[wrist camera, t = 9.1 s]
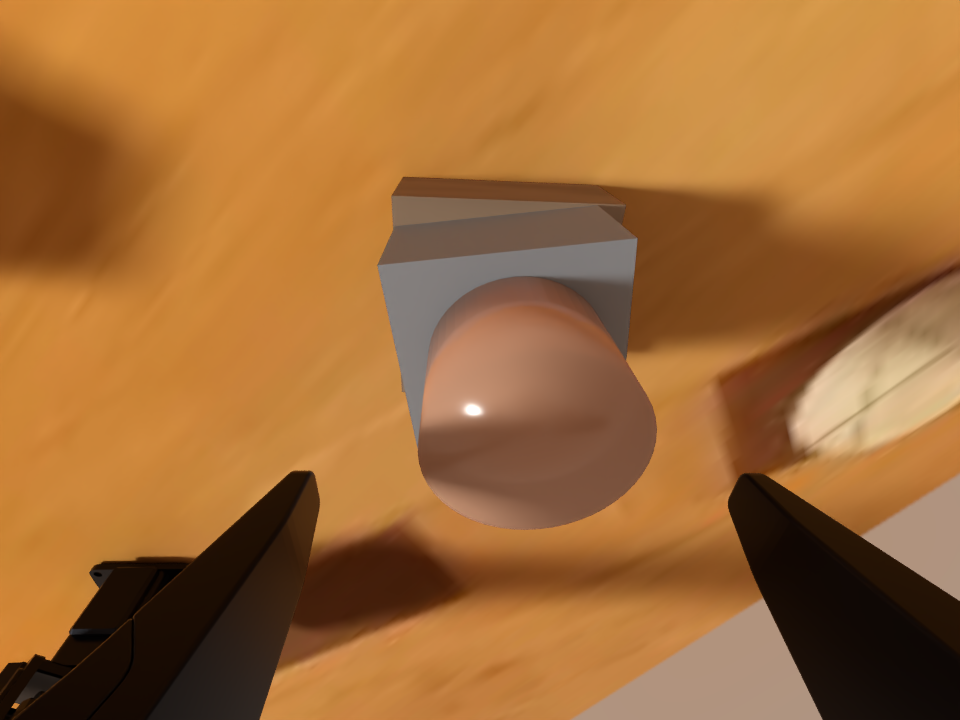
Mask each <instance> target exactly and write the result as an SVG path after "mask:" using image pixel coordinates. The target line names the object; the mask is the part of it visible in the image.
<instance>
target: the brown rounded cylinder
mask: <svg viewBox="0 0 960 720" xmlns="http://www.w3.org/2000/svg"><path fill="white" fill-rule="evenodd" d="M656 433H657V426H656V417H655V414H654V411H653V407H652V405H651V403H650V401H649V399H648V397H647V395H646V393H645V391H644V390H643V388H642V387H641V385H640V383H639V382H638V380H637V378H636V377H635V375H634V373H633V372H632V370H631V368H630V367H629V365H628V363H627V362H626V360H625V359H624V357H623V355H622V354H621V352H620V350H619V349H618V347H617V345H616V344H615V342H614V340H613V339H612V337H611V335H610V334H609V332H608V330H607V329H606V327H605V326H604V324H603V322H602V321H601V319H600V317H599V316H598V314H597V313H596V311H595V310H594V308H593V307H592V306H591V304H590V303H589V302H587V301H586V300H585V299H584V298H583V297H582V296H581V295H580V294H578V293H577V292H575V291H574V290H572V289H571V288H569V287H567V286H565V285H563V284H560V283H558V282H555V281H552V280H548V279H543V278H539V277H527V276H524V277H510V278H503V279H499V280H495V281H492V282H488V283H486V284H484V285H481V286H479V287H477V288H475V289H473V290H471V291H470V292H468V293H466V294H465V295H463V296H462V297H461V298H459V299H458V300H457V301H456V302H455V303H454V304H453V305H452V306H451V307H450V308H449V309H448V310H447V311H446V312H445V313H444V315H443V316H442V317H441V319H440V320H439V322H438V324H437V326H436V327H435V329H434V332H433V334H432V337H431V340H430V345H429V350H428V358H427V367H426V376H425V385H424V394H423V403H422V412H421V421H420V430H419V439H418V458H419V464H420V468H421V471H422V474H423V476H424V478H425V480H426V482H427V484H428V485H429V487H430V488H431V490H432V491H433V492H434V494H435V495H436V496H437V497H438V498H439V499H440V500H441V501H442V502H443V503H445V504H446V505H447V506H449V507H450V508H451V509H452V510H454V511H456V512H457V513H459V514H461V515H463V516H465V517H467V518H469V519H471V520H474V521H477V522H480V523H483V524H486V525H490V526H494V527H499V528H507V529H521V530H529V529H543V528H550V527H556V526H560V525H565V524H568V523H572V522H575V521H578V520H581V519H583V518H586V517H588V516H591V515H593V514H595V513H597V512H599V511H600V510H602V509H604V508H606V507H607V506H609V505H610V504H612V503H613V502H615V501H616V500H618V499H619V498H620V497H621V496H622V495H624V494H625V493H626V492H627V491H628V490H629V489H630V488H631V487H632V486H633V485H634V484H635V483H636V481H637V480H638V479H639V478H640V476H641V475H642V474H643V472H644V470H645V469H646V467H647V465H648V464H649V461H650V459H651V456H652V454H653V451H654V447H655V443H656Z"/></svg>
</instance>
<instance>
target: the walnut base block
mask: <svg viewBox="0 0 960 720" xmlns="http://www.w3.org/2000/svg"><path fill="white" fill-rule="evenodd" d="M593 205H598V206H599V207H600V208H602V209H603V210H604V211H605V212H606V213H608V214H609V215H610V216H611V217H612V218H614V219H615V220H616V221H617V222H618V223H620V224H621V225H622V222H623V217H624V212H625V208H626V205H625V204H624V203H623V202H621V201H620V200H618V199H617V198H615V197H614V196H612V195H611V194H609V193H608V192H606V191H605V190H603V189H602V188H601V187H599V186H598V185H582V184H558V183H534V182H511V181H487V180H463V179H440V178H416V177H403V178H402V180H401V181H400V183H399V185H398V186H397V188H396V189H395V191H394V193H393V194H392V214H393V230H394V227H395V226H402V225H411V224H421V223H430V222H440V221H449V220H459V219H469V218H478V217H488V216H497V215H507V214H516V213H526V212H536V211H545V210H555V209H564V208H574V207H583V206H593ZM401 382H402V392H405V388H404V384H403V379H402V375H401Z"/></svg>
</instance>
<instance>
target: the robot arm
mask: <svg viewBox="0 0 960 720" xmlns="http://www.w3.org/2000/svg"><path fill="white" fill-rule="evenodd" d="M319 507H320V498H319V493H318V488H317V483H316V478H315V475H314V473H313V472H312V471H292V472H290V473H289V474H288V475H287V476H286V477H285V478H284V479H282V480H281V481H280V482H279V483H278V484H277V485H276V486H275V487H274V488H273V489H271V490H270V491H269V492H268V493H267V494H266V495H265V496H264V497H263V498H262V499H260V500H259V501H258V502H257V503H256V504H255V505H254V506H253V507H252V508H251V509H250V510H248V511H247V512H246V513H245V514H244V515H243V516H242V517H241V518H240V519H239V520H237V521H236V522H235V523H234V524H233V525H232V526H231V527H230V528H229V529H228V530H226V531H225V532H224V533H223V534H222V535H221V536H220V537H219V538H218V539H217V540H216V541H214V542H213V543H212V544H211V545H210V546H209V547H208V548H207V549H206V550H205V551H203V552H202V553H201V554H200V555H199V556H198V557H197V558H196V559H195V560H194V561H192V562H191V563H190V564H186V563H183V564H97V565H95V566H94V567H93V568H92V569H91V571H90V572H89V573H90V575H91V577H92V578H93V580H94V581H95V583H96V584H97V586H98V587H99V590H98V591H97V593H96V594H95V595H94V597H93V598H92V600H91V601H90V602H89V604H88V605H87V607H86V608H85V609H84V611H83V612H82V614H81V615H80V616H79V618H78V619H77V621H76V622H75V623H74V625H73V626H72V627H71V629H70V631H69V633H70V635H69V636H68V637H67V639H66V640H65V642H64V643H63V644H62V646H61V647H60V649H59V650H58V651H57V653H56V654H55V656H54V657H53V658H52V660H51V661H50V660H46V659H45V658H46V657H44V656H40V655H37V654H35V655H34V656H33V657H32V658H31V659H30V660H29V661H28V663H26V662H20V663H8V665H7V666H6V667H5V668H4V669H3V671H2V672H1V673H0V720H259V719H260V716H261V713H262V710H263V707H264V704H265V701H266V698H267V695H268V692H269V689H270V686H271V683H272V680H273V676H274V673H275V670H276V667H277V664H278V661H279V658H280V655H281V652H282V649H283V646H284V643H285V640H286V637H287V634H288V631H289V627H290V624H291V621H292V618H293V615H294V612H295V609H296V606H297V603H298V600H299V597H300V594H301V590H302V587H303V583H304V579H305V575H306V571H307V566H308V561H309V556H310V551H311V547H312V542H313V537H314V532H315V527H316V523H317V518H318V513H319ZM728 509H729V512H730V515H731V518H732V520H733V523H734V526H735V528H736V531H737V534H738V536H739V539H740V542H741V545H742V547H743V550H744V553H745V555H746V558H747V561H748V563H749V566H750V569H751V571H752V574H753V576H754V579H755V581H756V583H757V585H758V587H759V590H760V592H761V594H762V596H763V598H764V600H765V602H766V604H767V606H768V608H769V610H770V612H771V614H772V616H773V618H774V621H775V623H776V624H777V627H778V629H779V631H780V633H781V635H782V637H783V639H784V641H785V643H786V645H787V647H788V649H789V651H790V653H791V655H792V658H793V660H794V662H795V664H796V666H797V668H798V670H799V672H800V674H801V676H802V678H803V680H804V682H805V684H806V686H807V688H808V691H809V693H810V695H811V697H812V699H813V701H814V703H815V705H816V707H817V709H818V711H819V713H820V715H821V717H822V719H823V720H960V601H958V600H957V599H956V598H954V597H953V596H951V595H949V594H948V593H946V592H945V591H943V590H942V589H940V588H939V587H937V586H936V585H934V584H932V583H931V582H929V581H928V580H926V579H925V578H923V577H922V576H920V575H919V574H917V573H916V572H914V571H913V570H911V569H909V568H908V567H906V566H905V565H903V564H902V563H900V562H899V561H897V560H896V559H894V558H892V557H891V556H889V555H888V554H886V553H885V552H883V551H882V550H880V549H879V548H877V547H875V546H874V545H872V544H871V543H869V542H868V541H866V540H865V539H863V538H862V537H860V536H859V535H857V534H856V533H854V532H852V531H851V530H849V529H848V528H846V527H845V526H843V525H842V524H840V523H839V522H837V521H835V520H834V519H832V518H831V517H829V516H828V515H826V514H825V513H823V512H822V511H820V510H819V509H817V508H815V507H814V506H812V505H811V504H809V503H808V502H806V501H805V500H803V499H802V498H800V497H799V496H797V495H795V494H794V493H792V492H791V491H789V490H788V489H786V488H785V487H783V486H782V485H780V484H778V483H777V482H775V481H774V480H772V479H771V478H769V477H768V476H766V475H764V474H761V473H744V474H742V475H740V477H739V478H738V480H737V482H736V484H735V486H734V488H733V490H732V492H731V495H730V497H729V499H728ZM14 703H18V704H20V705H19V706H18V708H17V709H14V708H11V707H12V706H13V704H14Z"/></svg>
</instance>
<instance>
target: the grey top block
mask: <svg viewBox="0 0 960 720" xmlns="http://www.w3.org/2000/svg"><path fill="white" fill-rule="evenodd" d="M637 239H638V238H637V237H635V236H634V235H633V234H632V233H631V232H629V231H628V230H627V229H626V228H625V227H623V226H622V225H621V224H620V223H618V222H617V221H616V220H615V219H614V218H612V217H611V216H610V215H609V214H608V213H606V212H605V211H604V210H603V209H602V208H600V207H599V206H598V205H593V206H583V207H574V208H564V209H555V210H545V211H536V212H526V213H516V214H507V215H497V216H488V217H478V218H469V219H459V220H449V221H440V222H430V223H421V224H411V225H402V226H395V227H394V230H393V232H392V234H391V236H390V239H389V241H388V243H387V245H386V247H385V250H384V252H383V254H382V256H381V258H380V261H379V263H378V265H377V266H378V270H379V275H380V279H381V284H382V288H383V293H384V297H385V302H386V307H387V311H388V316H389V320H390V325H391V329H392V334H393V338H394V343H395V348H396V352H397V357H398V361H399V366H400V370H401V375H402V379H403V384H404V388H405V393H406V398H407V402H408V407H409V411H410V416H411V420H412V425H413V429H414V434H415V438H416V443H417V448H418V439H419V430H420V421H421V412H422V403H423V394H424V385H425V376H426V367H427V358H428V350H429V345H430V340H431V337H432V334H433V332H434V329H435V327H436V326H437V324H438V322H439V320H440V319H441V317H442V316H443V315H444V313H445V312H446V311H447V310H448V309H449V308H450V307H451V306H452V305H453V304H454V303H455V302H456V301H457V300H458V299H459V298H461V297H462V296H463V295H465V294H466V293H468V292H470V291H471V290H473V289H475V288H477V287H479V286H481V285H484V284H486V283H488V282H492V281H495V280H499V279H503V278H510V277H524V276H527V277H539V278H543V279H548V280H552V281H555V282H558V283H560V284H563V285H565V286H567V287H569V288H571V289H572V290H574V291H575V292H577V293H578V294H580V295H581V296H582V297H583V298H584V299H585V300H586V301H587V302H589V303H590V304H591V306H592V307H593V308H594V310H595V311H596V313H597V314H598V316H599V317H600V319H601V321H602V322H603V324H604V326H605V327H606V329H607V330H608V332H609V334H610V335H611V337H612V339H613V340H614V342H615V344H616V345H617V347H618V349H619V350H620V352H621V354H622V355H623V357H624V359H625V360H626V357H627V346H628V335H629V325H630V314H631V303H632V293H633V282H634V271H635V261H636V250H637Z"/></svg>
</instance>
